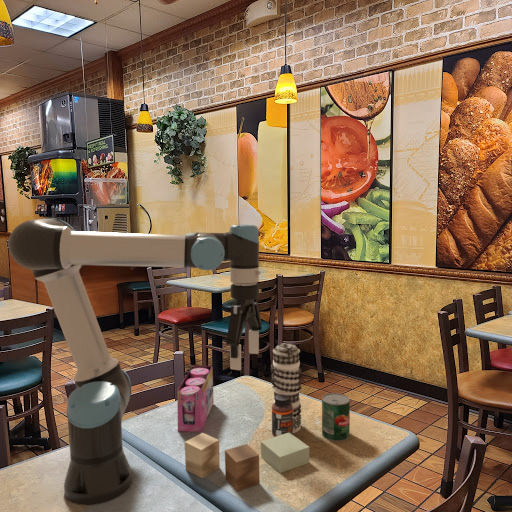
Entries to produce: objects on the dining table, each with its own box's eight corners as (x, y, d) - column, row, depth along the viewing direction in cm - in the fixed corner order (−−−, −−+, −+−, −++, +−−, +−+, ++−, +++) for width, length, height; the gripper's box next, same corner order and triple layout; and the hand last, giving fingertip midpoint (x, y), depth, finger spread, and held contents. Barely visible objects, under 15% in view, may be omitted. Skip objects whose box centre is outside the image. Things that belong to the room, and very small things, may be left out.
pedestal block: (280, 476, 114) (279, 457, 113) (261, 459, 122) (260, 441, 121) (309, 465, 118) (309, 446, 118) (289, 449, 126) (289, 432, 126)
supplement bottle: (282, 442, 128) (281, 403, 127) (267, 434, 133) (266, 397, 131) (297, 435, 132) (296, 397, 131) (282, 427, 137) (282, 390, 135)
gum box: (201, 434, 135) (199, 392, 134) (176, 433, 136) (174, 392, 134) (214, 401, 157) (213, 365, 156) (192, 401, 158) (191, 365, 156)
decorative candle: (268, 421, 142) (267, 342, 139) (297, 418, 144) (296, 339, 141) (275, 436, 133) (274, 351, 130) (306, 432, 135) (305, 349, 132)
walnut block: (237, 495, 106) (236, 462, 106) (225, 481, 112) (224, 450, 111) (259, 486, 109) (259, 454, 109) (247, 474, 115) (246, 443, 114)
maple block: (202, 481, 112) (201, 449, 111) (185, 472, 116) (184, 441, 115) (219, 470, 117) (218, 440, 116) (203, 461, 121) (202, 432, 120)
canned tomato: (324, 426, 138) (324, 391, 137) (351, 430, 136) (351, 394, 134) (319, 439, 131) (319, 402, 130) (347, 443, 128) (347, 405, 127)
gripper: (240, 292, 110) (241, 378, 112) (272, 276, 133) (272, 348, 135) (211, 290, 112) (212, 375, 114) (248, 275, 135) (248, 346, 138)
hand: (245, 361), depth 125 cm, fingers open, 13 cm apart
